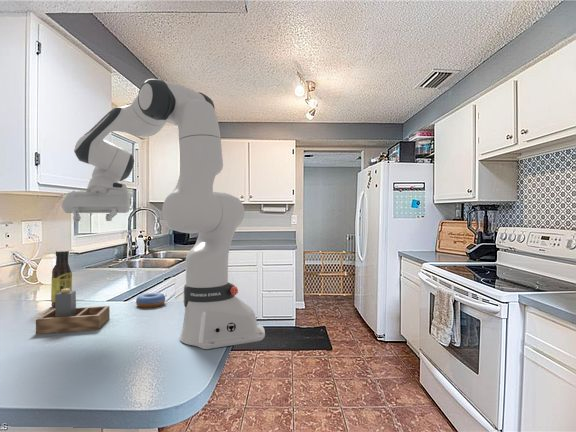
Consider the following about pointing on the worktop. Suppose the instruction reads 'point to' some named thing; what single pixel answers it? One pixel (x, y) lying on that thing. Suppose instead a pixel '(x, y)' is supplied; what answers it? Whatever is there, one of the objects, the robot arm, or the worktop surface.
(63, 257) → the sauce bottle
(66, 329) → the caddy
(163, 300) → the doughnut
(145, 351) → the worktop surface
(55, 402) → the worktop surface
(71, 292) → the push button
